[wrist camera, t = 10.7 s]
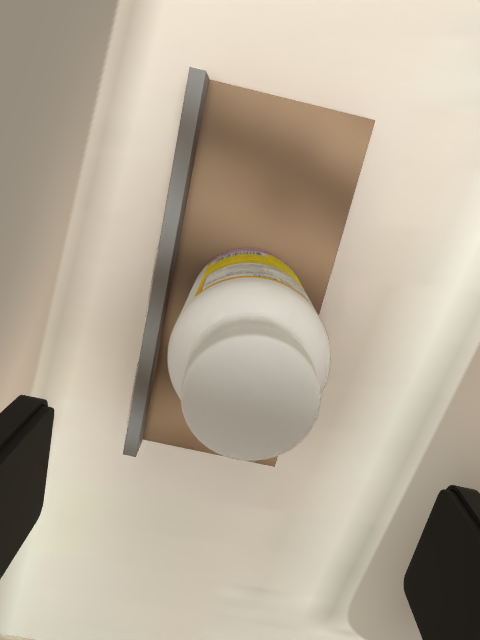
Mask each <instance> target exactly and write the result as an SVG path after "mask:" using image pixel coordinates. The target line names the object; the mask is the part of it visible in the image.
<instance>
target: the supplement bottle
mask: <svg viewBox="0 0 480 640" xmlns="http://www.w3.org/2000/svg"><path fill="white" fill-rule="evenodd" d="M330 360H331V356H330V344H329V339H328V336H327V333H326V330H325V327H324V325H323V323H322V321H321V319H320V317H319V315H318V314H317V312H316V310H315V308H314V307H313V305H312V303H311V301H310V299H309V298H308V296H307V294H306V292H305V290H304V288H303V287H302V285H301V283H300V281H299V279H298V278H297V276H296V274H295V273H294V272H293V270H292V269H291V268H290V267H289V266H288V265H287V264H286V263H285V262H284V261H283V260H281V259H280V258H278V257H277V256H275V255H273V254H271V253H269V252H266V251H263V250H258V249H251V248H244V249H236V250H232V251H229V252H226V253H224V254H221V255H219V256H218V257H216V258H214V259H213V260H212V261H210V262H209V263H208V264H207V265H206V266H205V267H204V268H203V270H202V271H201V272H200V274H199V275H198V277H197V279H196V281H195V283H194V285H193V287H192V289H191V291H190V294H189V296H188V298H187V300H186V303H185V305H184V307H183V309H182V311H181V313H180V316H179V317H178V319H177V321H176V324H175V326H174V328H173V331H172V333H171V336H170V340H169V345H168V370H169V374H170V378H171V382H172V384H173V387H174V389H175V391H176V393H177V395H178V397H179V398H180V400H181V407H182V412H183V415H184V418H185V420H186V423H187V425H188V427H189V428H190V430H191V431H192V433H193V434H194V435H195V436H196V438H197V439H198V440H199V441H200V442H201V443H202V444H204V445H205V446H206V447H208V448H209V449H211V450H212V451H214V452H216V453H218V454H220V455H223V456H226V457H229V458H233V459H237V460H245V461H257V460H264V459H269V458H272V457H275V456H278V455H280V454H283V453H285V452H286V451H288V450H290V449H292V448H293V447H294V446H296V445H297V444H298V443H299V442H301V441H302V440H303V438H304V437H305V436H306V435H307V434H308V432H309V431H310V429H311V428H312V426H313V424H314V422H315V420H316V418H317V415H318V411H319V406H320V394H321V392H322V390H323V389H324V387H325V384H326V381H327V378H328V375H329V369H330Z"/></svg>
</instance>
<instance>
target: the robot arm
mask: <svg viewBox="0 0 480 640" xmlns="http://www.w3.org/2000/svg"><path fill="white" fill-rule="evenodd" d="M53 420H54V409H53V408H52V407H48V403H47V401H46V400H44V399H40V398H35V397H30V396H25V395H20V396H18V397H17V398H16V399H15V400H14V401H13V402H12V403H11V404H10V405H9V406H7V407H6V408H5V409H4V410H3V411H2V412H1V413H0V579H1V577H2V576H3V574H4V573H5V571H6V569H7V568H8V566H9V565H10V563H11V561H12V560H13V558H14V557H15V555H16V553H17V552H18V550H19V549H20V547H21V545H22V544H23V542H24V541H25V539H26V538H27V536H28V534H29V533H30V531H31V530H32V528H33V526H34V525H35V523H36V522H37V520H38V518H39V516H40V513H41V510H42V507H43V501H44V493H45V485H46V477H47V469H48V460H49V452H50V444H51V436H52V428H53ZM404 591H405V594H406V597H407V600H408V602H409V605H410V608H411V610H412V613H413V615H414V618H415V621H416V623H417V626H418V628H419V631H420V633H421V636H422V639H423V640H480V493H479V492H478V491H477V490H474V489H469V488H464V487H460V486H455V485H451V486H449V487H448V488H447V489H446V490H441V491H440V493H439V494H438V497H437V499H436V501H435V504H434V506H433V509H432V511H431V513H430V516H429V518H428V521H427V523H426V525H425V528H424V530H423V533H422V535H421V538H420V540H419V543H418V545H417V548H416V550H415V552H414V555H413V557H412V560H411V562H410V565H409V567H408V569H407V572H406V574H405V577H404ZM0 640H33V639H27V638H21V637H15V636H9V635H3V634H0Z"/></svg>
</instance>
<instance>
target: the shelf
mask: <svg viewBox="0 0 480 640" xmlns="http://www.w3.org/2000/svg"><path fill="white" fill-rule="evenodd" d="M374 123H375V120H372V119H368V118H364V117H360V116H356V115H351V114H347V113H343V112H339V111H335V110H331V109H327V108H323V107H319V106H315V105H311V104H307V103H303V102H299V101H295V100H291V99H287V98H282V97H278V96H274V95H270V94H266V93H262V92H258V91H254V90H250V89H246V88H242V87H238V86H234V85H230V84H226V83H222V82H218V81H213V80H209V77H208V75H207V72H206V71H204V70H200V69H196V68H192V67H190V68H189V74H188V80H187V85H186V91H185V97H184V103H183V109H182V114H181V120H180V126H179V132H178V138H177V143H176V149H175V155H174V161H173V167H172V173H171V178H170V184H169V190H168V196H167V202H166V207H165V213H164V219H163V225H162V231H161V236H160V242H159V248H157V254H156V259H155V265H154V271H153V277H152V283H151V289H150V294H149V300H148V306H147V312H146V317H147V318H146V324H145V329H144V335H143V341H142V347H141V353H140V358H139V363H138V364H137V370H136V376H135V382H134V388H133V394H132V399H131V405H130V411H129V417H128V428H127V434H126V440H125V445H124V451H123V454H124V455H129V456H134V457H136V455H137V452H138V450H139V448H140V445H141V443H142V440H143V439H144V440H149V441H153V442H158V443H163V444H168V445H173V446H177V447H182V448H187V449H192V450H197V451H202V452H206V453H211V454H216V455H220V454H218V453H216V452H214V451H212V450H211V449H209V448H208V447H206V446H205V445H204V444H202V443H201V442H200V441H199V440H198V439H197V438H196V436H195V435H194V434H193V433H192V431H191V430H190V428H189V427H188V425H187V423H186V420H185V418H184V415H183V412H182V407H181V400H180V398H179V397H178V395H177V393H176V391H175V389H174V387H173V384H172V382H171V378H170V374H169V370H168V345H169V340H170V336H171V333H172V331H173V328H174V326H175V324H176V321H177V319H178V317H179V316H180V313H181V311H182V309H183V307H184V305H185V303H186V300H187V298H188V296H189V294H190V291H191V289H192V287H193V285H194V283H195V281H196V279H197V277H198V275H199V274H200V272H201V271H202V270H203V268H204V267H205V266H206V265H207V264H208V263H209V262H210V261H212V260H213V259H214V258H216V257H218V256H219V255H221V254H224V253H226V252H229V251H232V250H236V249H244V248H251V249H258V250H263V251H266V252H269V253H271V254H273V255H275V256H277V257H278V258H280V259H281V260H283V261H284V262H285V263H286V264H287V265H288V266H289V267H290V268H291V269H292V270H293V272H294V273H295V274H296V276H297V278H298V279H299V281H300V283H301V285H302V287H303V288H304V290H305V292H306V294H307V296H308V298H309V299H310V301H311V303H312V305H313V307H314V308H315V310H316V312H317V314H318V315H319V313H320V309H321V306H322V302H323V299H324V295H325V292H326V288H327V285H328V282H329V278H330V275H331V271H332V268H333V264H334V261H335V257H336V254H337V251H338V247H339V244H340V240H341V237H342V233H343V230H344V226H345V223H346V220H347V216H348V213H349V209H350V206H351V202H352V199H353V196H354V192H355V189H356V185H357V182H358V178H359V175H360V171H361V168H362V165H363V161H364V158H365V154H366V151H367V147H368V144H369V140H370V137H371V134H372V130H373V127H374ZM221 456H223V455H221ZM277 457H278V456H275V457H272V458H269V459H264V460H257V461H250V462H255V463H260V464H264V465H269V466H274V467H275V464H276V461H277Z"/></svg>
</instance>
